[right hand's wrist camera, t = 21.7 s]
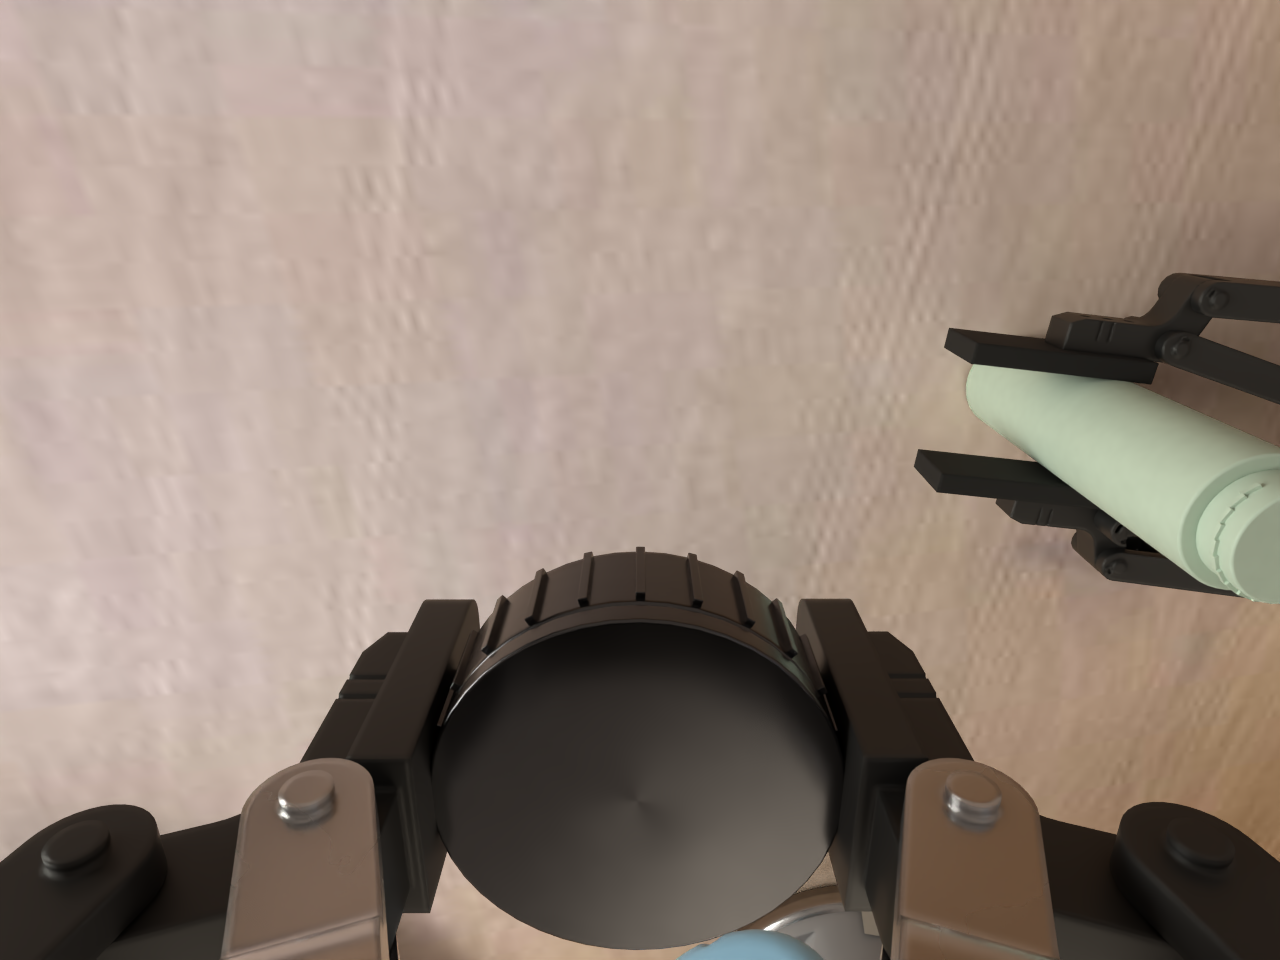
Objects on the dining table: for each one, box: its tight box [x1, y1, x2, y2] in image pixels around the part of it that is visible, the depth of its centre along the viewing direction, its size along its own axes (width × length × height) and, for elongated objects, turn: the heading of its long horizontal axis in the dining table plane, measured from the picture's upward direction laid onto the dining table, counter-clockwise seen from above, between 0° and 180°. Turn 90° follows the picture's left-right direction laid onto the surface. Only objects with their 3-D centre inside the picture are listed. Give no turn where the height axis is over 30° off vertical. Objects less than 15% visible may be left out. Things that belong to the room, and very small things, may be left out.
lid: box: [430, 547, 845, 950], centre depth 10 cm, size 5×5×2 cm
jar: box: [966, 364, 1280, 604], centre depth 28 cm, size 4×4×17 cm
